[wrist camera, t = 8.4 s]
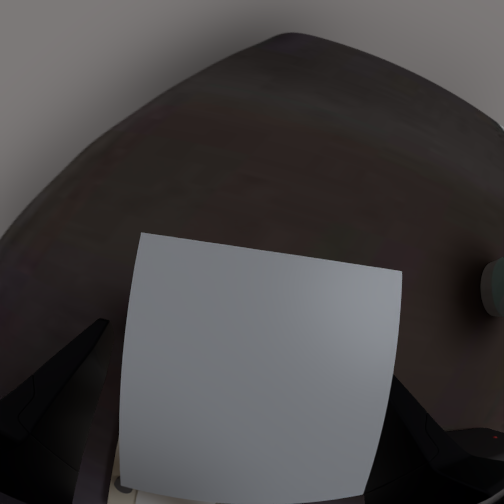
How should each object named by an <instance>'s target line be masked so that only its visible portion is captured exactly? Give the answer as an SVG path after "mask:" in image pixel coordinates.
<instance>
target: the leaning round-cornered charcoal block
mask: <svg viewBox="0 0 504 504" xmlns="http://www.w3.org/2000/svg"><path fill="white" fill-rule="evenodd" d="M446 433H447V434H448V435H449V436H450V437H451V438H452V439H453V440H454V441H455V442H456V443H458V444H459V445H460V446H461V447H462V448H463V449H464V450H465V451H466V452H468V453H470V454H472V455H474V456H478V457H483V458H488V459H494V460H500V461H504V433H502V432H499V431H495V430H492V429H488V428H475V429H468V430H460V431H451V432H446Z"/></svg>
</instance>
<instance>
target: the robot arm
mask: <svg viewBox="0 0 504 504" xmlns="http://www.w3.org/2000/svg"><path fill="white" fill-rule="evenodd" d="M113 343H114V333H113V329H112V324H111V322H110V321H109V320H106V319H101V318H100V319H98V320H97V321H95V322H94V323H93V324H92V325H90V326H89V327H88V328H87V329H86V330H84V331H83V332H82V333H81V334H80V335H78V336H77V337H76V338H75V339H74V340H72V341H71V342H70V343H69V344H68V345H66V346H65V347H64V348H63V349H62V350H60V351H59V352H58V353H57V354H56V355H55V356H53V357H52V358H51V359H50V360H49V361H47V362H46V363H45V364H44V365H43V366H42V367H41V368H39V369H38V370H37V371H36V372H35V373H34V374H33V375H31V376H30V377H29V378H28V379H27V380H26V381H24V382H23V383H22V384H21V385H20V386H18V387H17V388H16V389H15V390H13V391H12V392H11V393H9V394H8V395H7V396H5V397H4V398H2V399H1V400H0V504H72V501H73V496H74V491H75V486H76V482H77V477H78V472H79V468H80V464H81V460H82V456H83V452H84V448H85V444H86V440H87V437H88V433H89V430H90V426H91V423H92V419H93V416H94V413H95V409H96V406H97V403H98V400H99V397H100V394H101V391H102V388H103V385H104V381H105V378H106V374H107V369H108V365H109V360H110V356H111V352H112V347H113ZM364 494H365V495H364V498H365V504H504V461H500V460H494V459H488V458H483V457H478V456H474V455H472V454H470V453H468V452H466V451H465V450H464V449H463V448H462V447H461V446H460V445H459V444H458V443H456V442H455V441H454V440H453V439H452V438H451V437H450V436H449V435H448V434H447V433H446V432H445V431H444V430H443V429H442V428H441V427H440V426H439V425H438V424H437V423H436V422H435V421H434V419H433V418H432V417H431V416H430V415H429V414H428V413H427V412H426V410H425V409H424V408H423V407H422V406H421V405H420V404H419V402H418V401H417V400H416V399H415V398H414V397H413V396H412V395H411V393H410V392H409V391H408V390H407V389H406V388H405V387H404V386H403V384H402V383H401V382H400V381H399V380H398V379H397V378H396V377H395V375H394V374H393V376H392V382H391V388H390V394H389V399H388V404H387V409H386V414H385V418H384V423H383V427H382V431H381V435H380V439H379V443H378V447H377V451H376V454H375V458H374V461H373V465H372V468H371V471H370V475H369V478H368V481H367V484H366V487H365V490H364Z"/></svg>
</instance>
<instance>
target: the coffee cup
mask: <svg viewBox="0 0 504 504" xmlns="http://www.w3.org/2000/svg"><path fill="white" fill-rule="evenodd" d="M480 289H481V298H482V302H483V305H484V308H485V310H486V311H487V312H488V314H490V315H491V316H499V317H504V257H502V258H500V259H498V260H495V261H493V262H491V263H489V264H487V265H486V267H485V268H484V270H483V273H482V277H481V285H480Z"/></svg>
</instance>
